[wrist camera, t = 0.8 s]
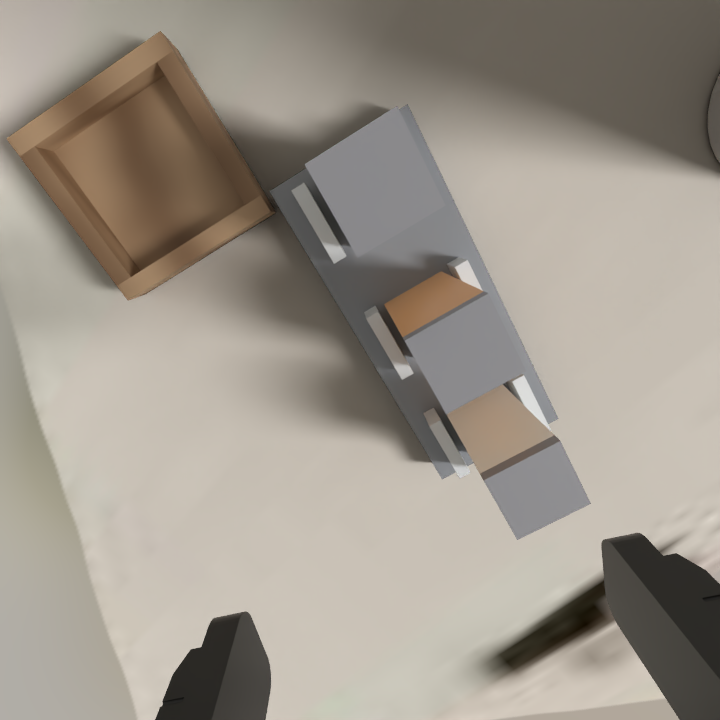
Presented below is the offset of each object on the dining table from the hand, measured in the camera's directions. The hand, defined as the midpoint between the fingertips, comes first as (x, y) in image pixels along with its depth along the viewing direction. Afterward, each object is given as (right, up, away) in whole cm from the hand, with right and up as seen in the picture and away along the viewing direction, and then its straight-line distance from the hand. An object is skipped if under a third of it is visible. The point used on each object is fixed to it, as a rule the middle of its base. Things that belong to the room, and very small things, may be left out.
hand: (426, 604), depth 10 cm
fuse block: (+3, +9, +20) cm, 22 cm away
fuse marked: (+3, +8, +18) cm, 20 cm away
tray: (-13, +16, +17) cm, 27 cm away
